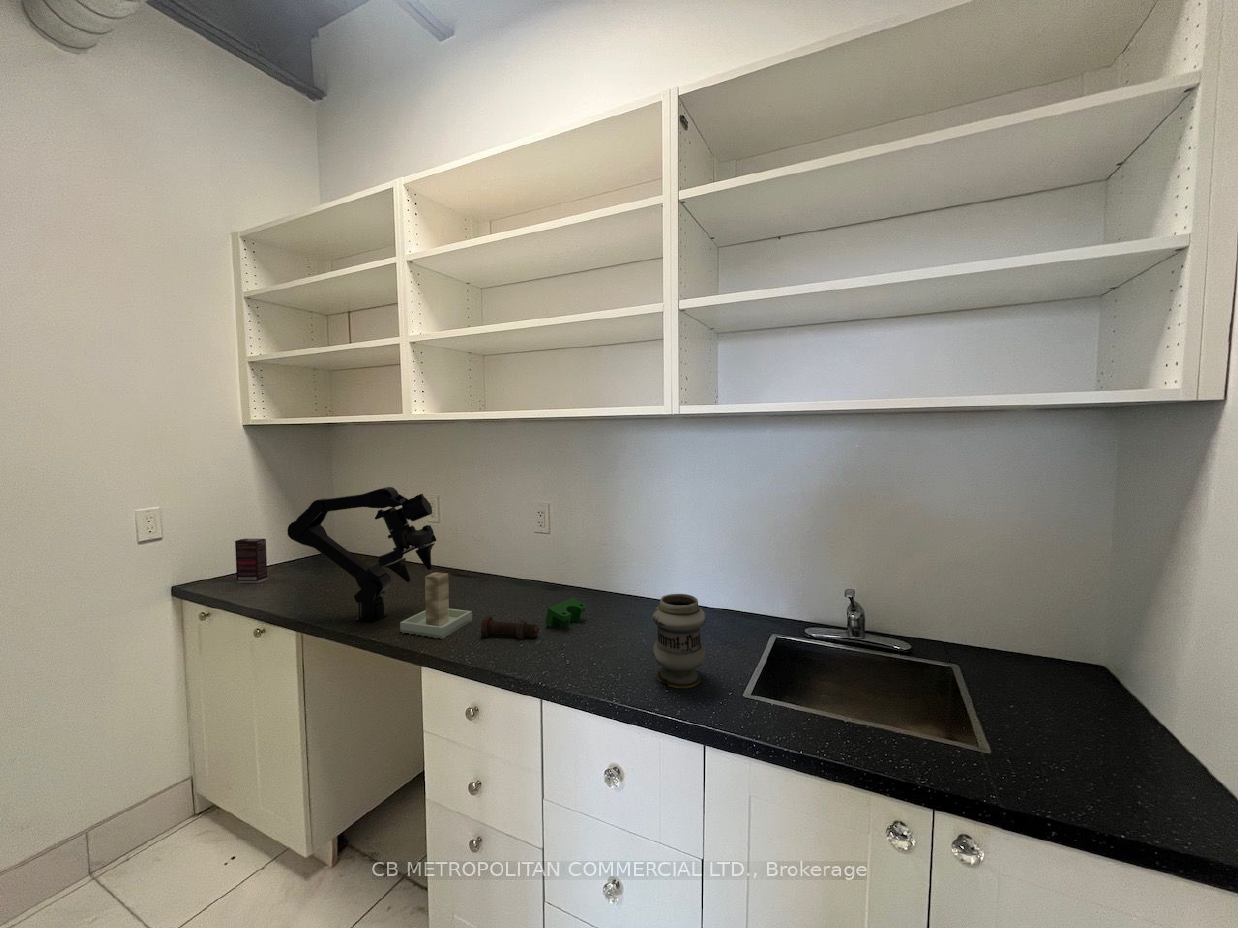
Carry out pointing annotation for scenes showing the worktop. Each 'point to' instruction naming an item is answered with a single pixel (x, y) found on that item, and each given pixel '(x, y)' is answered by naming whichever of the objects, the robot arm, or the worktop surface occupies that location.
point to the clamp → (565, 613)
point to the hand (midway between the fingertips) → (419, 575)
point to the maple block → (437, 599)
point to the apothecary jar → (679, 640)
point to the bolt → (508, 628)
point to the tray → (419, 626)
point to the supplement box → (251, 560)
